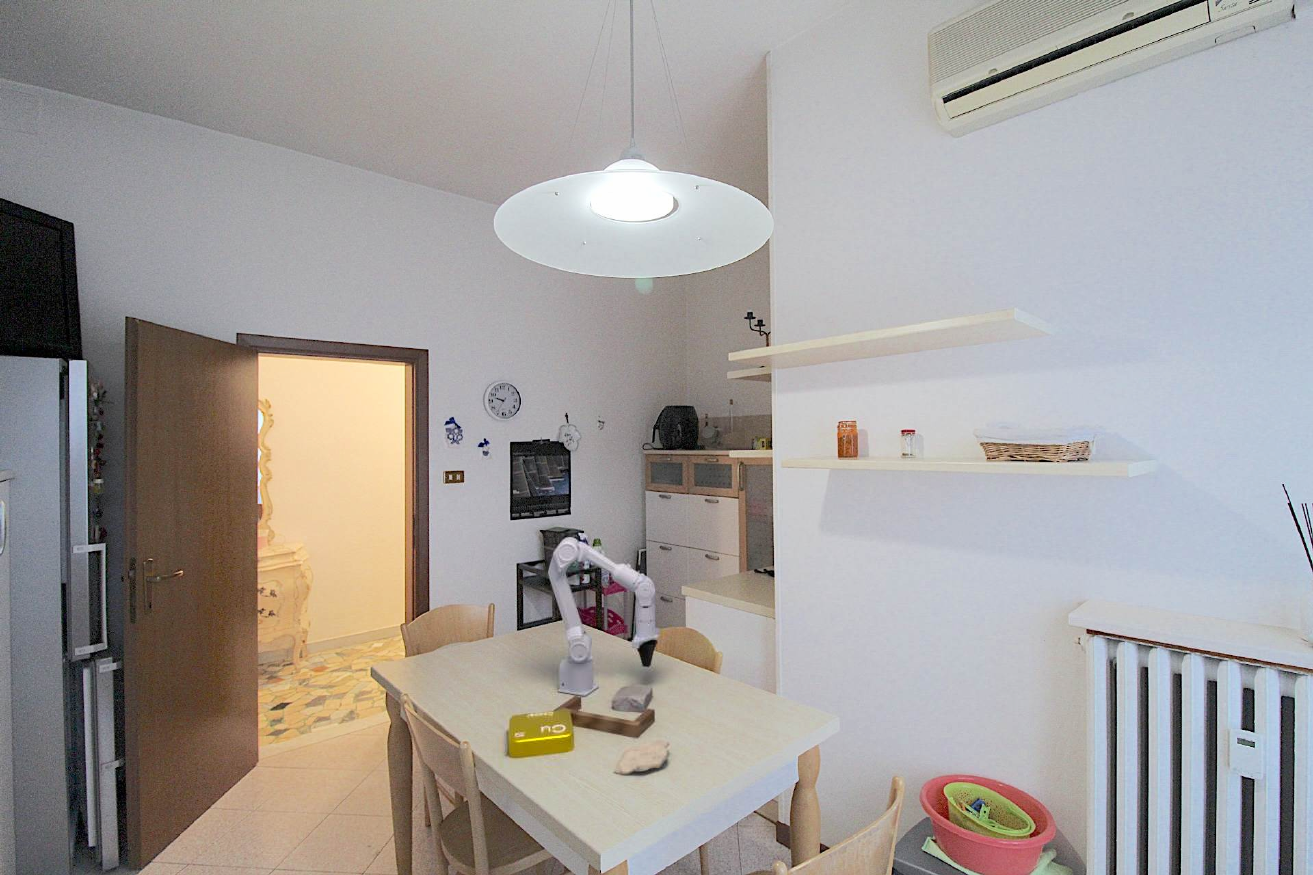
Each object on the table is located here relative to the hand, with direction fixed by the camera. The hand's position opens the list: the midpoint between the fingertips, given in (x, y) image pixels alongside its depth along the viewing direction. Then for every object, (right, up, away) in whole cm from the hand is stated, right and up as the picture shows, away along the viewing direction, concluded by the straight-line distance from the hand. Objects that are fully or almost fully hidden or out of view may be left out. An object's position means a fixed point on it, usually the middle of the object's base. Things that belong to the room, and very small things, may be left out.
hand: (646, 665), depth 183 cm
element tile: (-25, -7, -33) cm, 42 cm away
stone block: (-4, -7, -11) cm, 14 cm away
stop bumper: (-11, -6, -23) cm, 26 cm away
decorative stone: (0, -6, -44) cm, 45 cm away
